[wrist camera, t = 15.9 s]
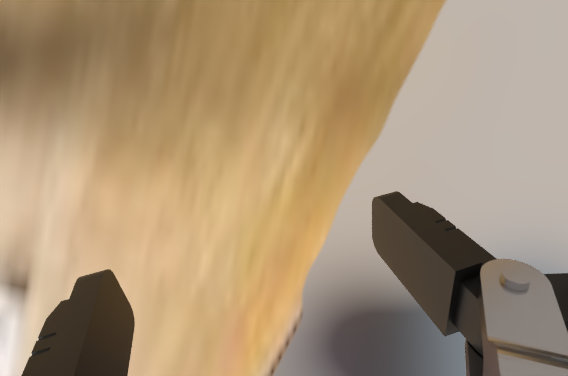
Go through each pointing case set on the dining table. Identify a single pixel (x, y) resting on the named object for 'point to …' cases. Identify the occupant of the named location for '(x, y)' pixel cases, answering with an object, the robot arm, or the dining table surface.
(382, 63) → the dining table surface
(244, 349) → the dining table surface
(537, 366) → the robot arm
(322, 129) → the dining table surface
